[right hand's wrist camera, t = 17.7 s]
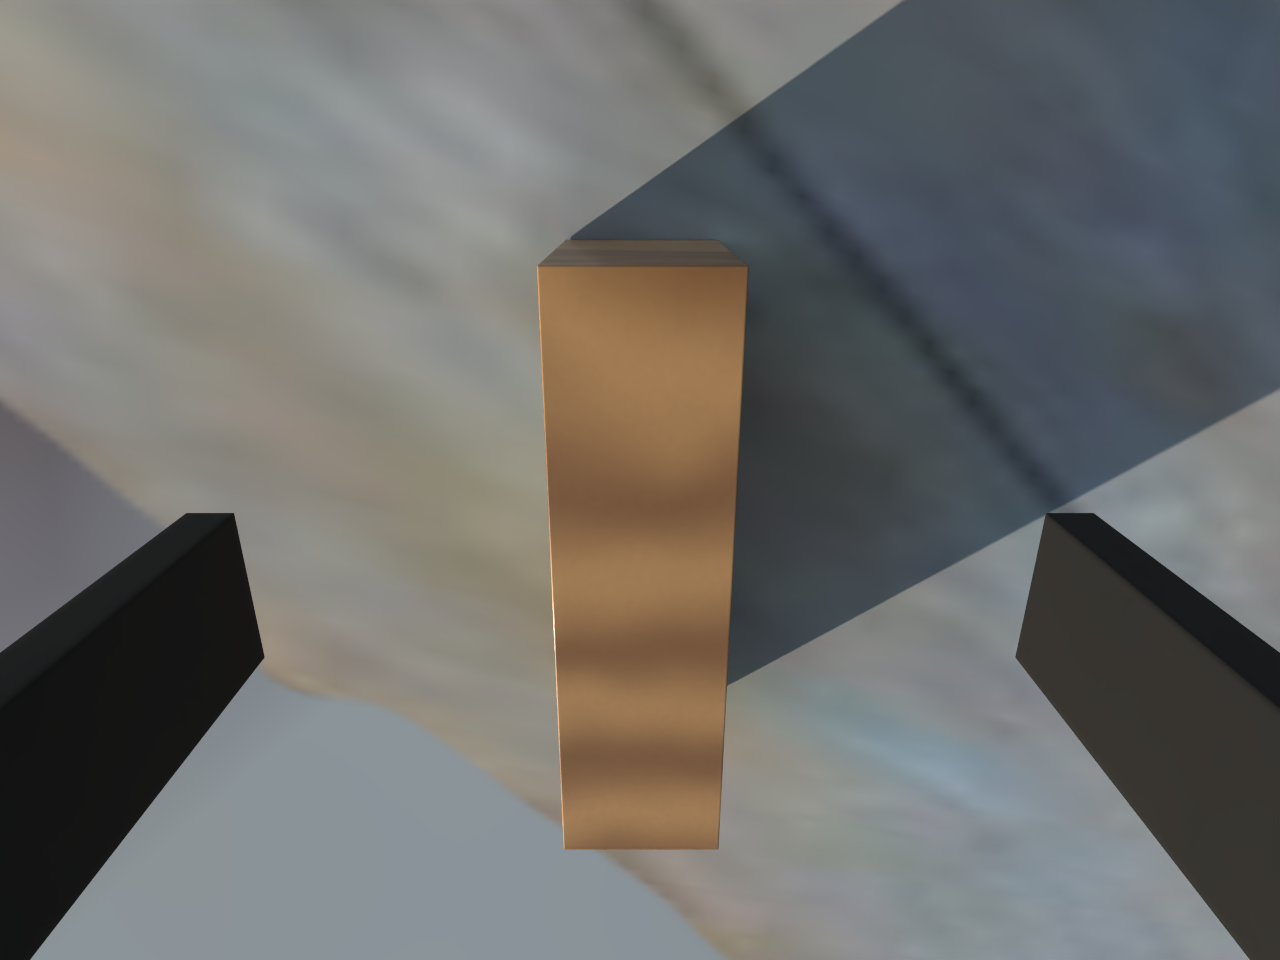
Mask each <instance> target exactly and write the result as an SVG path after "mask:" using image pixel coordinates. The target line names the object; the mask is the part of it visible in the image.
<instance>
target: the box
mask: <svg viewBox="0 0 1280 960" xmlns="http://www.w3.org/2000/svg"><path fill="white" fill-rule="evenodd" d="M748 269H749V267H748V266H747V265H746V264H745V263H744V262H743V261H742V260H740V259H739V258H738V257H737V256H736V255H735V254H733V253H732V252H731V251H730V250H729V249H727V248H726V247H725V246H724V245H723V244H722V243H720V242H719V241H718V240H565V241H564V242H563V243H562V244H561V245H560V246H559V247H558V248H556V249H555V250H554V251H553V252H552V253H551V254H550V255H549V256H548V257H547V258H545V259H544V260H543V261H542V262H541V263H540V264H539V265H538V266H537V278H538V300H539V321H540V343H541V365H542V386H543V408H544V430H545V451H546V473H547V495H548V517H549V538H550V560H551V582H552V603H553V625H554V647H555V668H556V690H557V712H558V734H559V755H560V777H561V799H562V820H563V842H564V849H718V847H719V827H720V808H721V789H722V770H723V750H724V731H725V712H726V693H727V673H728V654H729V635H730V616H731V596H732V577H733V558H734V539H735V519H736V500H737V481H738V461H739V442H740V423H741V404H742V384H743V365H744V346H745V327H746V307H747V288H748Z"/></svg>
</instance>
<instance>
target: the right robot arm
mask: <svg viewBox="0 0 1280 960" xmlns="http://www.w3.org/2000/svg"><path fill="white" fill-rule="evenodd" d="M263 659H264V653H263V648H262V643H261V638H260V634H259V629H258V624H257V620H256V615H255V610H254V606H253V601H252V596H251V591H250V587H249V582H248V577H247V573H246V568H245V563H244V558H243V554H242V549H241V544H240V540H239V535H238V530H237V525H236V521H235V516H234V513H186V514H185V515H183V516H182V517H181V518H179V519H178V520H177V521H175V522H174V523H173V524H171V525H170V526H169V527H167V528H166V529H165V530H163V531H162V532H161V533H159V534H158V535H157V536H155V537H154V538H153V539H152V540H150V541H149V542H147V543H146V544H145V545H143V546H142V547H141V548H139V549H138V550H137V551H135V552H134V553H133V554H131V555H130V556H129V557H127V558H126V559H125V560H123V561H122V562H121V563H119V564H118V565H117V566H115V567H114V568H113V569H111V570H110V571H109V572H107V573H106V574H105V575H103V576H102V577H101V578H99V579H98V580H97V581H95V582H94V583H93V584H92V585H90V586H89V587H87V588H86V589H85V590H83V591H82V592H81V593H79V594H78V595H77V596H75V597H74V598H73V599H71V600H70V601H69V602H67V603H66V604H65V605H63V606H62V607H61V608H59V609H58V610H57V611H55V612H54V613H53V614H51V615H50V616H49V617H47V618H46V619H45V620H43V621H42V622H41V623H39V624H38V625H37V626H35V627H34V628H33V629H31V630H30V631H29V632H27V633H26V634H25V635H23V636H22V637H21V638H19V639H18V640H17V641H15V642H14V643H13V644H11V645H10V646H9V647H7V648H6V649H5V650H3V651H2V652H1V653H0V960H30V959H31V958H32V956H33V955H34V954H35V953H36V951H37V950H38V949H39V947H40V946H41V945H42V944H43V942H44V941H45V940H46V938H47V937H48V936H49V935H50V933H51V932H52V931H53V929H54V928H55V927H56V925H57V924H58V923H59V922H60V920H61V919H62V918H63V916H64V915H65V914H66V913H67V911H68V910H69V909H70V907H71V906H72V905H73V904H74V902H75V901H76V900H77V898H78V897H79V896H80V895H81V893H82V892H83V891H84V889H85V888H86V887H87V885H88V884H89V883H90V882H91V880H92V879H93V878H94V876H95V875H96V874H97V873H98V871H99V870H100V869H101V867H102V866H103V865H104V864H105V862H106V861H107V860H108V858H109V857H110V856H111V855H112V853H113V852H114V851H115V849H116V848H117V847H118V845H119V844H120V843H121V842H122V840H123V839H124V838H125V836H126V835H127V834H128V833H129V831H130V830H131V829H132V828H133V826H134V825H135V824H136V822H137V821H138V820H139V818H140V817H141V816H142V815H143V813H144V812H145V811H146V809H147V808H148V807H149V806H150V804H151V803H152V802H153V800H154V799H155V798H156V797H157V795H158V794H159V793H160V791H161V790H162V789H163V788H164V786H165V785H166V784H167V782H168V781H169V780H170V778H171V777H172V776H173V775H174V773H175V772H176V771H177V769H178V768H179V767H180V766H181V764H182V763H183V762H184V760H185V759H186V758H187V757H188V755H189V754H190V753H191V751H192V750H193V749H194V747H195V746H196V745H197V744H198V742H199V741H200V740H201V738H202V737H203V736H204V735H205V733H206V732H207V731H208V730H209V728H210V727H211V726H212V724H213V723H214V722H215V721H216V719H217V718H218V717H219V715H220V714H221V713H222V711H223V710H224V709H225V708H226V706H227V705H228V704H229V702H230V701H231V700H232V699H233V697H234V696H235V695H236V693H237V692H238V691H239V690H240V688H241V687H242V686H243V684H244V683H245V682H246V681H247V679H248V678H249V677H250V675H251V674H252V673H253V672H254V670H255V669H256V668H257V666H258V665H259V664H260V662H261V661H262V660H263ZM1016 659H1017V660H1018V661H1019V662H1020V664H1021V665H1022V666H1023V668H1024V669H1025V670H1026V672H1027V673H1028V674H1029V675H1030V677H1031V678H1032V679H1033V681H1034V682H1035V683H1036V684H1037V686H1038V687H1039V688H1040V690H1041V691H1042V692H1043V693H1044V695H1045V696H1046V697H1047V699H1048V700H1049V701H1050V702H1051V704H1052V705H1053V706H1054V708H1055V709H1056V710H1057V711H1058V713H1059V714H1060V715H1061V717H1062V718H1063V719H1064V721H1065V722H1066V723H1067V724H1068V726H1069V727H1070V728H1071V730H1072V731H1073V732H1074V733H1075V735H1076V736H1077V737H1078V739H1079V740H1080V741H1081V742H1082V744H1083V745H1084V746H1085V748H1086V749H1087V750H1088V751H1089V753H1090V754H1091V755H1092V757H1093V758H1094V759H1095V760H1096V762H1097V763H1098V764H1099V766H1100V767H1101V768H1102V769H1103V771H1104V772H1105V773H1106V775H1107V776H1108V777H1109V779H1110V780H1111V781H1112V782H1113V784H1114V785H1115V786H1116V788H1117V789H1118V790H1119V791H1120V793H1121V794H1122V795H1123V797H1124V798H1125V799H1126V800H1127V802H1128V803H1129V804H1130V806H1131V807H1132V808H1133V809H1134V811H1135V812H1136V813H1137V815H1138V816H1139V817H1140V818H1141V820H1142V821H1143V822H1144V824H1145V825H1146V826H1147V828H1148V829H1149V830H1150V831H1151V833H1152V834H1153V835H1154V837H1155V838H1156V839H1157V840H1158V842H1159V843H1160V844H1161V846H1162V847H1163V848H1164V849H1165V851H1166V852H1167V853H1168V855H1169V856H1170V857H1171V858H1172V860H1173V861H1174V862H1175V864H1176V865H1177V866H1178V867H1179V869H1180V870H1181V871H1182V873H1183V874H1184V875H1185V876H1186V878H1187V879H1188V880H1189V882H1190V883H1191V884H1192V886H1193V887H1194V888H1195V889H1196V891H1197V892H1198V893H1199V895H1200V896H1201V897H1202V898H1203V900H1204V901H1205V902H1206V904H1207V905H1208V906H1209V907H1210V909H1211V910H1212V911H1213V913H1214V914H1215V915H1216V916H1217V918H1218V919H1219V920H1220V922H1221V923H1222V924H1223V925H1224V927H1225V928H1226V929H1227V931H1228V932H1229V933H1230V935H1231V936H1232V937H1233V938H1234V940H1235V941H1236V942H1237V944H1238V945H1239V946H1240V947H1241V949H1242V950H1243V951H1244V953H1245V954H1246V955H1247V956H1248V958H1249V959H1250V960H1280V653H1279V652H1278V651H1277V650H1275V649H1274V648H1273V647H1271V646H1270V645H1269V644H1267V643H1266V642H1265V641H1263V640H1262V639H1261V638H1259V637H1258V636H1257V635H1255V634H1254V633H1253V632H1251V631H1250V630H1249V629H1247V628H1246V627H1245V626H1243V625H1242V624H1241V623H1239V622H1238V621H1237V620H1235V619H1234V618H1233V617H1231V616H1230V615H1229V614H1227V613H1226V612H1225V611H1223V610H1222V609H1221V608H1219V607H1218V606H1217V605H1215V604H1214V603H1213V602H1211V601H1210V600H1209V599H1207V598H1206V597H1205V596H1203V595H1202V594H1201V593H1199V592H1198V591H1197V590H1195V589H1194V588H1193V587H1191V586H1190V585H1189V584H1187V583H1186V582H1185V581H1183V580H1182V579H1181V578H1179V577H1178V576H1177V575H1175V574H1174V573H1173V572H1171V571H1170V570H1169V569H1167V568H1166V567H1165V566H1163V565H1162V564H1161V563H1159V562H1158V561H1157V560H1155V559H1154V558H1153V557H1151V556H1150V555H1149V554H1147V553H1146V552H1145V551H1143V550H1142V549H1141V548H1139V547H1138V546H1137V545H1135V544H1134V543H1133V542H1131V541H1130V540H1129V539H1127V538H1126V537H1125V536H1123V535H1122V534H1121V533H1119V532H1118V531H1117V530H1115V529H1114V528H1113V527H1111V526H1110V525H1109V524H1107V523H1106V522H1105V521H1103V520H1102V519H1101V518H1099V517H1098V516H1097V515H1095V514H1094V513H1046V516H1045V521H1044V525H1043V530H1042V535H1041V540H1040V544H1039V549H1038V554H1037V558H1036V563H1035V568H1034V573H1033V577H1032V582H1031V587H1030V591H1029V596H1028V601H1027V605H1026V610H1025V615H1024V620H1023V624H1022V629H1021V634H1020V638H1019V643H1018V648H1017V653H1016Z"/></svg>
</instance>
